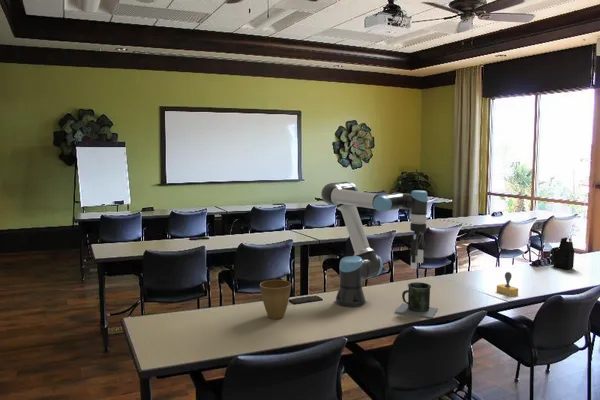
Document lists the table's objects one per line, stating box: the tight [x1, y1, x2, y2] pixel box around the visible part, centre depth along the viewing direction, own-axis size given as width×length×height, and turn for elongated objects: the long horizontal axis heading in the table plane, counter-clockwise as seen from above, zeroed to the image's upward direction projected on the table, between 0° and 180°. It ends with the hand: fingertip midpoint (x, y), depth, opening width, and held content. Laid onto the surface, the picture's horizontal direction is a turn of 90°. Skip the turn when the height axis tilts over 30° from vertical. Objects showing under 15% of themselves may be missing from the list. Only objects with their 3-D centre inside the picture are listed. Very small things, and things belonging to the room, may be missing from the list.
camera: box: [549, 237, 575, 271], centre depth 332 cm, size 10×14×20 cm
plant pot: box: [259, 279, 292, 320], centre depth 239 cm, size 15×15×16 cm
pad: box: [394, 302, 439, 320], centre depth 247 cm, size 18×14×1 cm
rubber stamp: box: [496, 271, 519, 297], centre depth 276 cm, size 10×6×12 cm, turn 28°
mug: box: [401, 281, 432, 312], centre depth 247 cm, size 11×15×12 cm
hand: (416, 265), depth 245 cm, fingers open, 13 cm apart
